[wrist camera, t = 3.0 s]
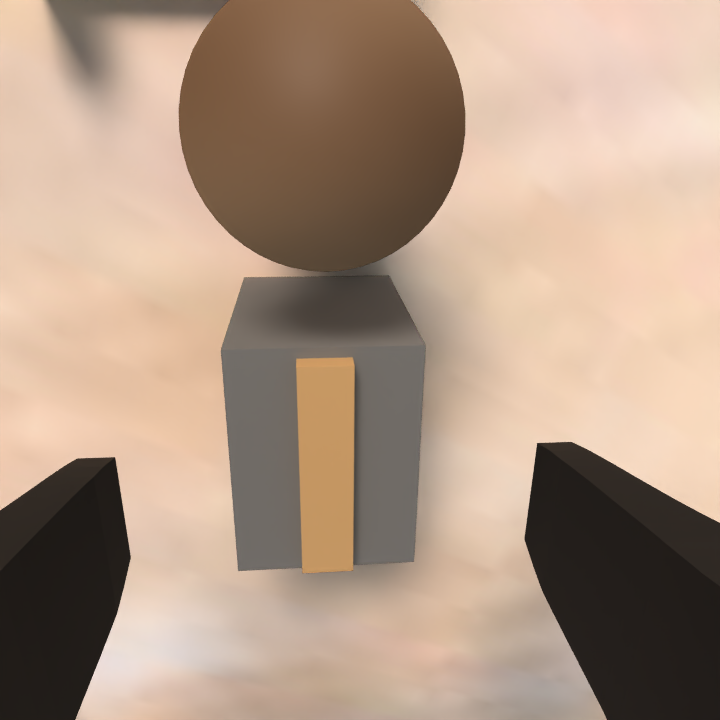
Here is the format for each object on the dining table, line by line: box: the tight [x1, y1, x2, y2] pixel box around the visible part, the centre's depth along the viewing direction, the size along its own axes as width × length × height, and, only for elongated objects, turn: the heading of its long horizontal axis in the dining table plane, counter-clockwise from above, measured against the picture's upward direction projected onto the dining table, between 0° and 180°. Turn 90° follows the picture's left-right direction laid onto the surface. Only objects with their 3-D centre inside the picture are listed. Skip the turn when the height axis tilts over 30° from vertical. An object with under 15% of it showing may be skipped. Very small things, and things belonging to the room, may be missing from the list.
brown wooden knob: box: [179, 0, 465, 272], centre depth 12 cm, size 4×4×6 cm
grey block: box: [221, 276, 425, 573], centre depth 14 cm, size 5×4×5 cm
